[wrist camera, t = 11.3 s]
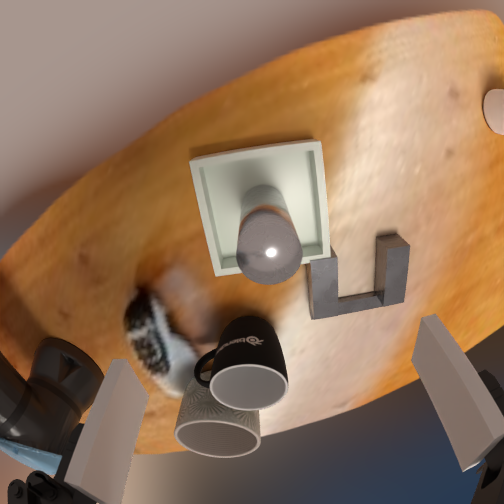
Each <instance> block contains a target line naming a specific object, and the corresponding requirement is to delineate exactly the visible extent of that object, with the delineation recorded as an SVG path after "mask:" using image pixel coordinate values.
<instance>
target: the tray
mask: <svg viewBox="0 0 504 504" xmlns="http://www.w3.org/2000/svg"><path fill="white" fill-rule="evenodd" d="M189 164H190V169H191V173H192V178H193V183H194V187H195V192H196V196H197V201H198V205H199V210H200V214H201V218H202V223H203V227H204V231H205V235H206V240H207V244H208V248H209V252H210V256H211V260H212V264H213V268H214V272H215V276H223V275H230V274H237V273H242V272H241V270H240V268H239V266H238V264H237V260H236V250H237V241H238V233H239V224H240V215H241V207H242V200H243V197H244V195H245V194H246V193H247V191H249V190H250V189H251V188H253V187H255V186H257V185H270V186H272V187H274V188H276V189H277V190H279V191H280V193H281V194H282V195H283V197H284V200H285V203H286V205H287V208H288V211H289V213H290V216H291V219H292V221H293V224H294V227H295V229H296V232H297V235H298V238H299V240H300V243H301V246H302V251H303V256H302V262H301V264H306V263H310V260H316V259H323V258H329V257H331V254H330V235H329V220H328V207H327V195H326V184H325V173H324V164H323V155H322V146H321V141H319V140H316V139H308V140H299V141H290V142H282V143H275V144H268V145H261V146H254V147H248V148H242V149H236V150H230V151H224V152H219V153H214V154H209V155H204V156H199V157H195V158H193V159H192V160H190V161H189Z"/></svg>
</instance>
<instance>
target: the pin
mask: <svg viewBox="0 0 504 504" xmlns="http://www.w3.org/2000/svg"><path fill="white" fill-rule="evenodd" d="M302 256H303V251H302V246H301V243H300V240H299V238H298V235H297V232H296V229H295V227H294V224H293V221H292V219H291V216H290V213H289V211H288V208H287V205H286V203H285V200H284V197H283V195H282V194H281V193H280V191H279V190H277V189H276V188H274V187H272V186H270V185H257V186H255V187H253V188H251V189H250V190H249V191H247V193H246V194H245V195H244V197H243V200H242V207H241V215H240V224H239V233H238V241H237V250H236V260H237V264H238V266H239V268H240V270H241V272H242V273H243V274H244V275H245V276H246V277H247V278H249V279H250V280H252V281H254V282H256V283H260V284H267V285H271V284H277V283H281V282H283V281H285V280H287V279H289V278H290V277H291V276H293V275H294V274H295V273H296V271H297V270H298V268H299V267H300V264H301V262H302Z"/></svg>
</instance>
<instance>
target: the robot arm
mask: <svg viewBox="0 0 504 504" xmlns="http://www.w3.org/2000/svg"><path fill="white" fill-rule="evenodd" d="M411 361H412V363H413V365H414V367H415V369H416V371H417V372H418V374H419V376H420V378H421V380H422V382H423V384H424V386H425V388H426V390H427V392H428V394H429V396H430V398H431V400H432V402H433V405H434V407H435V409H436V411H437V413H438V415H439V417H440V419H441V422H442V423H443V426H444V428H445V431H446V433H447V435H448V437H449V440H450V442H451V444H452V446H453V449H454V451H455V454H456V456H457V459H458V461H459V464H460V466H461V469H462V471H465V470H467V469H469V468H471V467H473V466H475V465H476V464H478V463H479V462H480V461H481V460H482V459H483V458H485V460H486V462H485V463H484V464H483V465H482V466H481V467H480V468H479V469H478V470H477V472H476V474H478V473H480V472H481V471H482V473H481V477H480V480H479V483H478V485H477V488H476V491H475V494H474V496H473V499H472V502H471V504H504V391H503V389H502V388H501V387H500V384H499V383H498V381H497V380H496V378H495V377H494V376H493V375H492V374H491V373H489V372H488V371H487V370H483V371H481V372H479V373H477V372H476V370H475V369H474V367H473V366H472V364H471V363H470V361H469V360H468V358H467V357H466V355H465V354H464V352H463V351H462V350H461V348H460V347H459V345H458V344H457V342H456V341H455V340H454V338H453V337H452V335H451V334H450V333H449V331H448V330H447V329H446V327H445V326H444V324H443V323H442V322H441V320H440V319H439V318H438V316H437V315H436V314H433V315H429V316H426V317H422V318H421V322H420V327H419V331H418V336H417V340H416V344H415V348H414V352H413V356H412V360H411ZM148 398H149V395H148V393H147V392H146V390H145V389H144V387H143V385H142V384H141V382H140V381H139V379H138V377H137V376H136V374H135V373H134V371H133V369H132V368H131V366H130V364H129V362H128V361H127V359H113V360H112V362H111V364H110V367H109V369H108V371H107V373H106V375H105V378H104V376H103V374H102V372H101V370H100V369H99V368H98V366H97V365H96V364H95V363H94V362H93V360H92V359H91V358H89V357H88V356H87V355H86V354H85V353H84V352H82V351H81V350H80V349H78V348H77V347H75V346H73V345H71V344H70V343H67V342H65V341H63V340H60V339H55V338H47V339H44V340H43V341H42V342H41V343H40V344H39V346H38V347H37V349H36V351H35V355H34V360H33V363H32V367H31V372H30V376H29V378H28V380H27V381H25V379H24V378H23V377H22V376H21V375H20V374H19V373H18V372H17V371H16V369H15V368H14V367H13V366H12V365H11V364H10V362H9V361H8V360H7V359H6V358H5V356H4V355H3V354H2V353H1V351H0V449H1V450H2V451H3V452H5V453H6V454H8V455H9V456H11V457H12V458H14V459H16V460H17V461H19V462H21V463H23V464H25V465H27V466H29V467H31V468H33V469H35V470H36V471H33V472H32V473H30V475H29V476H28V477H27V480H26V483H24V482H23V481H21V480H19V479H16V480H13V481H12V482H11V483H10V484H9V486H8V504H96V503H99V504H121V502H122V498H123V493H124V489H125V485H126V481H127V477H128V472H129V468H130V464H131V460H132V456H133V453H134V449H135V445H136V441H137V437H138V434H139V430H140V426H141V423H142V419H143V416H144V412H145V409H146V405H147V402H148ZM92 404H93V405H92ZM91 405H92V407H91V410H90V412H89V415H88V417H87V420H86V422H85V424H82V423H79V421H80V419H81V417H82V414H83V413H84V412H85V411H86V410H87V409H88V408H89V407H90V406H91ZM47 474H51V475H53V474H55V477H54V479H53V478H51V477H50V476H49V475H47Z"/></svg>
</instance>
